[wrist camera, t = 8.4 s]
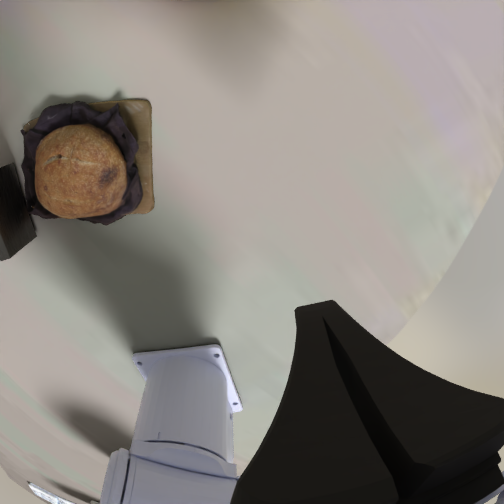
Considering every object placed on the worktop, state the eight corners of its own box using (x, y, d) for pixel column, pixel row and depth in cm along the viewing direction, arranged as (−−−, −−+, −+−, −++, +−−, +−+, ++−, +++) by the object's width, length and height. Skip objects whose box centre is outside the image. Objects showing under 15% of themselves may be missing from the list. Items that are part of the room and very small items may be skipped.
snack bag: (29, 479, 51) (27, 484, 49) (85, 505, 56) (84, 510, 54) (34, 490, 58) (32, 494, 56) (83, 511, 63) (82, 516, 61)
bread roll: (157, 92, 16) (139, 87, 13) (157, 219, 20) (143, 241, 16) (25, 113, 15) (-6, 117, 12) (34, 220, 19) (8, 239, 15)
